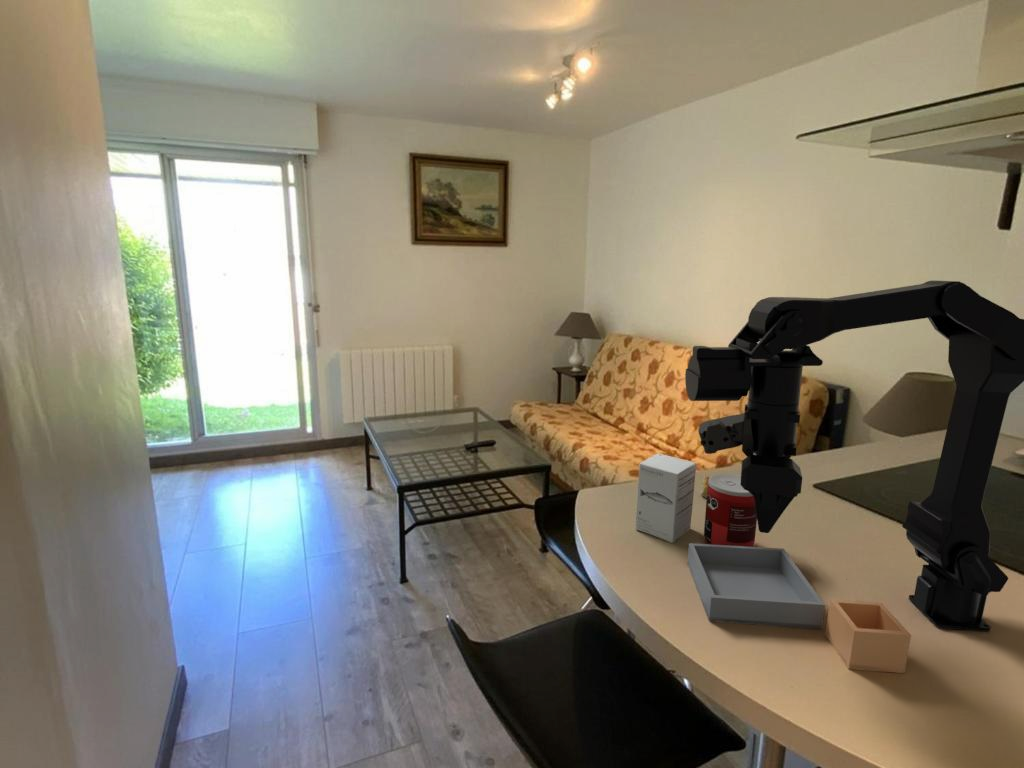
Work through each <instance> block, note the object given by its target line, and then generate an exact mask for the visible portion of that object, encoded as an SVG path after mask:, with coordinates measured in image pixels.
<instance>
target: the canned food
mask: <svg viewBox="0 0 1024 768" xmlns="http://www.w3.org/2000/svg"><path fill="white" fill-rule="evenodd" d="M709 477H710V478H709V482H708V488H707V499H706V502H705V515H704V516H705V517H704V526H703V537H704V542H705V544H711V545H728V546H746V547H755V540H756V531H757V525H758V521H757V514H756V507H755V501H754V496H753V495H752V494H751V493H750V492H749V491H747V490H745V489H744V488H743V487H742V486H741V475H736V474H728V473H725V474H724V473H723V474H722V473H720V474H714V475H712V476H709Z"/></svg>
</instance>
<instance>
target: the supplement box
mask: <svg viewBox="0 0 1024 768" xmlns="http://www.w3.org/2000/svg"><path fill="white" fill-rule="evenodd" d="M697 465H698V464H697V462H695V461H694V462H693V461H690V460H685V459H683V458H677V457H675V456H669V455H667V454H663V453H659V452H658V453H656V454H654V455H652V456H650V457H649V458H646V459H645V460H643V461H641V462H640V463H639V467H638V483H637V496H636V497H637V498H636V509H635V510H636V512H635V513H636V514H635V526H634V527H635V530H637V531H640V532H643V533H645V534H648V535H651V536H653V537H656V538H658V539H661V540H664V541H667V542H669V543H671V544H673V543H675V542H676V541H678V539H680V538H681V537H682V536H683V535H685V534H686V533H687V532H688V531H690V529H691V527H692V526H691V523H692V515H693V505H694V504H693V503H694V494H695V493H694V492H695V484H696V471H697Z"/></svg>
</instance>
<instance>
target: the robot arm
mask: <svg viewBox="0 0 1024 768" xmlns="http://www.w3.org/2000/svg"><path fill="white" fill-rule="evenodd" d="M747 319H748V320H747V322H746V323H745V325H744V326H743V327H742V328H741V329H740V331H739V332H738V333H737V334H736V335H735V337H733V338H732V340H731V341H730V342H729V344H728V346H722V347H721V346H707V345H694V346H693V347H692V355H691V356H690V357H689V360H688V364H687V368H685V374H684V376H685V381H684V382H685V388H686V389H685V390H686V395H687V397H688V399H689V400H690V401H691V402H720V401H721V402H723V401H725V402H737V401H740V400H741V399H742V398H743V397H747V396H748V398H747V399H748V400H747V404H746V403H745V404H744V411H743V412H744V413H739V414H732V415H727V416H722V417H719V418H714V419H710V420H706V421H702V422H701V423H700V424H699V426H698V430H697V432H698V435H699V438H700V442H699V443H700V445H701V446H702V448H703V450H704V453H705V454H706V455H712V454H716V453H717V452H718V451H722V450H724V451H725V450H729V449H733V448H737V447H741V452H742V453H743V454H744V455H745V456H746V457H745V458H744V459H742V460H741V469H740V470H741V471H740V476H741V486H742V487H743V488H744V489H745V490H747V491H749V492H750V493H751V494H752V495H753V496H754V501H755V507H756V514H757V526H758V527H757V528H758V532H760V533H764V534H769V533H770V532H771V531H772V529H773V527H774V526H775V525H776V524H777V522H778V520H779V519H780V518H781V516H782V514H783V513H784V511H785V510H786V509H787V508H788V506H789V505H790V503H792V501H793V500H794V498H796V497H798V495H799V494H802V493H801V492H802V487H803V486H802V484H803V475H802V471H801V468H800V466H799V465H798V464H797V463H796V462H795V461H794V460H793V458H791V457H792V456H794V457H796V456H797V444H796V441H797V440H796V439H797V427H798V424H799V423H800V419H801V414H800V411H799V408H800V407H799V406H800V398H801V397H800V396H801V389H802V388H801V387H802V379H803V368H804V367H820V366H823V364H824V361H823V359H821V358H820V357H819V356H817V355H816V354H815V353H814V351H813V350H812V349H811V346H810V345H812V344H815V343H818V342H821V341H824V340H825V339H826V338H829V337H830V336H832V335H834V334H836V333H840V332H843V331H847V330H853V329H855V330H856V329H862V328H867V327H875V326H881V325H888V324H896V323H902V322H908V321H914V320H915V321H916V320H922V319H928V321H929V322H930V324H931V326H932V327H933V329H934V330H935V331H936V332H937V333H939V334H940V335H941V336H942V337H944V338H945V339H947V340H948V357H947V358H948V361H947V362H948V365H949V368H950V370H951V373H952V376H953V379H954V382H955V392H954V396H953V401H952V405H951V410H950V414H949V419H948V421H947V422H948V423H947V427H946V432H945V435H944V440H943V444H942V449H941V452H940V453H941V454H940V457H939V461H938V466H937V470H936V475H935V479H934V484H933V489H932V490H931V493H930V494H929V495H927V496H925V498H924V499H923V500H921V501H915V500H914V501H913V500H911V501H909V503H908V505H907V514H906V515H907V516H906V517H905V518H906V519H905V521H904V523H902V526H901V527H902V528H903V529H904V530H906V531H905V532H906V534H905V536H906V539H907V540H908V542H909V543H910V544H911V545H912V546H913V547H914V552H915V556H917V557H918V558H919V559H921V560H923V561H924V562H925V563H927V564H922V569H921V575H918V576H917V578H916V582H915V590H914V592H913V593H914V594H909V595H908V600H909V601H910V602H911V603H912V604H913V605H914V606H915V607H916V608H917V609H918V610H919V611H920V612H921V613H922V614H923V615H924V616H925V617H926V618H927V619H928V620H929V621H930V622H931V623H932V624H933V625H934V626H935V627H938V628H939V629H940V628H941V629H954V630H966V631H967V630H968V631H969V630H971V631H983V632H990V631H991V625H990V624H988V623H987V622H986V621H985V620H984V619H983V617H984V616H983V615H984V611H985V606H986V601H987V599H988V598H987V597H988V595H990V594H989V593H1000V592H1001V591H1002V590H1003V588H1004V587H1005V585H1006V583H1008V580H1009V576H1008V575H1007V574H1006V573H1005V572H1004V571H1003V570H1002V569H1000V567H999V566H998V565H997V564H996V563H995V561H994V560H993V559H992V558H991V557H990V548H991V547H990V544H991V530H990V527H989V525H988V521H987V518H986V516H985V513H984V512H985V511H984V509H983V500H984V496H985V492H986V489H987V484H988V480H989V476H990V472H991V469H992V464H993V462H994V461H993V460H994V457H995V452H996V449H997V446H998V445H997V444H998V441H999V437H1000V433H1001V429H1002V426H1003V425H1002V424H1003V422H1004V417H1005V414H1006V410H1007V405H1008V401H1009V398H1010V395H1011V394H1012V393H1013V391H1015V389H1017V388H1018V387H1019V386H1020V385H1021V384H1023V382H1024V318H1020V317H1018V316H1017V315H1016V314H1015V313H1013V312H1012V311H1010V310H1008V309H1006V308H1005V307H1003V306H1001V305H998V304H997V303H994V302H993V301H991V300H990V299H987V298H985V297H983V296H982V295H980V293H978V292H976V291H975V290H974V289H973V288H972V287H970V286H968V285H967V284H966V283H964V282H962V281H957V280H956V281H955V280H954V281H952V280H934V279H932V280H928V281H925V282H923V283H920V284H913V285H906V286H901V287H894V288H887V289H881V290H874V291H868V292H862V293H861V292H860V293H855V294H847V295H841V296H835V297H834V296H833V297H829V298H828V297H827V298H826V297H825V298H824V297H823V298H822V297H819V298H817V297H797V296H794V297H793V296H790V297H789V296H784V297H783V296H769V297H765V298H762V299H759V300H758V301H757V302H756V303H755V305H754V306H753V308H751V310H750V312H749V315H748V318H747Z"/></svg>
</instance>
